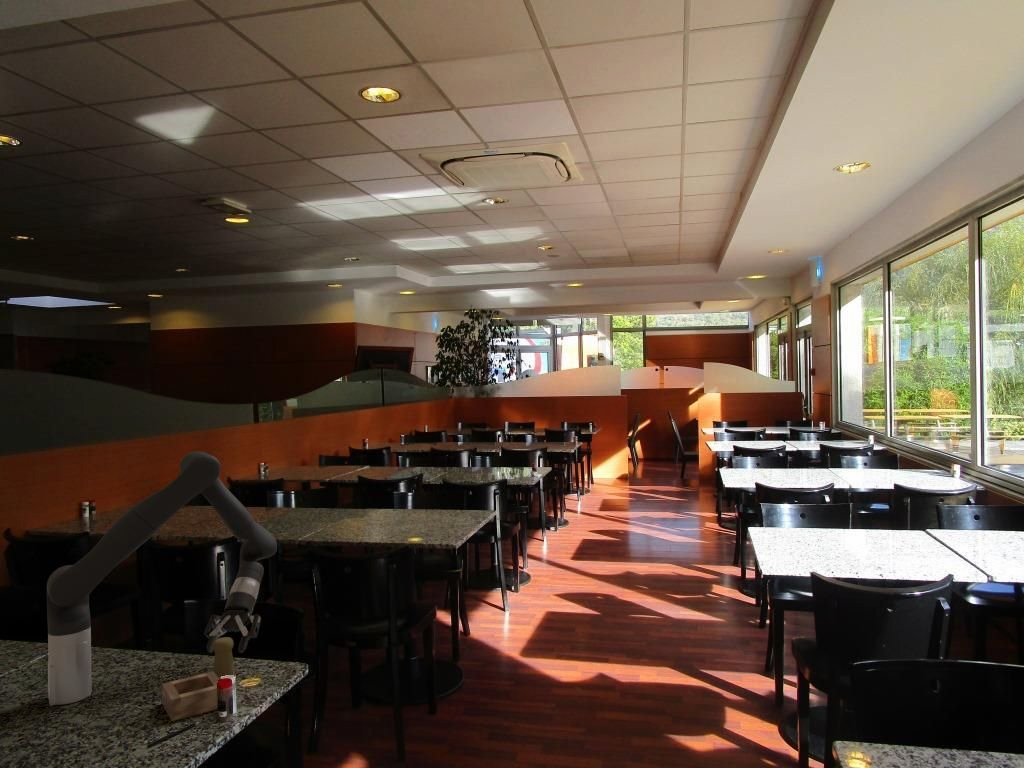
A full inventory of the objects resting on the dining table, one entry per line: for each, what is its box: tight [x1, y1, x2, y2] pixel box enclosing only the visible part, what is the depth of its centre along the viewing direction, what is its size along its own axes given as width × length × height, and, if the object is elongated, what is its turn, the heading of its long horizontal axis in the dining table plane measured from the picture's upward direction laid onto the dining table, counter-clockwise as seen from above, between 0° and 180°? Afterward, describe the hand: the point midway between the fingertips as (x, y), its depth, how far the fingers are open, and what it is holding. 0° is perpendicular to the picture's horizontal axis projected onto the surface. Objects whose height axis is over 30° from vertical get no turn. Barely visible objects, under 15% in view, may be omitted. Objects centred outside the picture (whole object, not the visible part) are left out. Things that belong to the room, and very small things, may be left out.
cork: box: [212, 636, 237, 678], centre depth 187 cm, size 6×6×11 cm
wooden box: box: [161, 671, 219, 722], centre depth 171 cm, size 12×12×5 cm
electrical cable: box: [146, 721, 200, 749], centre depth 156 cm, size 12×1×1 cm, turn 150°
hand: (224, 651), depth 188 cm, fingers open, 8 cm apart
